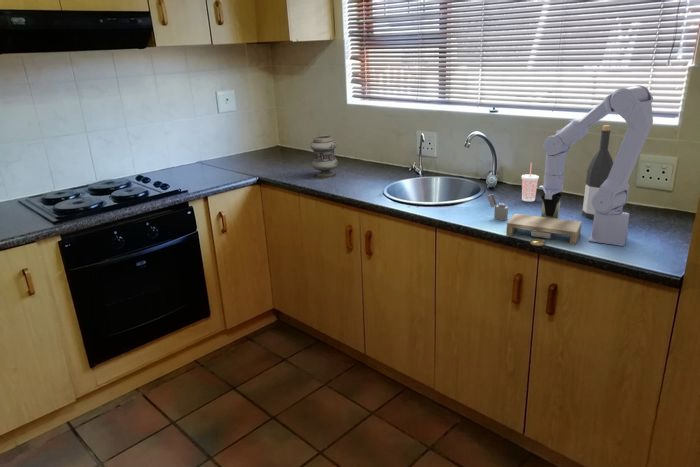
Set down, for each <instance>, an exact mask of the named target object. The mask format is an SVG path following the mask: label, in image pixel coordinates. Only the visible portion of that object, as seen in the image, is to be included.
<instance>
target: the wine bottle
mask: <svg viewBox="0 0 700 467" xmlns="http://www.w3.org/2000/svg"><path fill="white" fill-rule="evenodd" d="M600 132H601V133H600V140H599V141H600V142H599V149H598V151H597V152H596V153H595V155H594V156H593V158H592V159H591V161H590V163H589V165H588V166H587V170H586V179H585V188H584V195H583V196H584V197H583V204H582V211H581V212H582V216H584V217H585V218H589V219H593V220H594V213H595V209H594V207H593V206H592V197H593V195H594V194H595V193H596V192H598V190H599V188H600V186H601V185H602V184H603V183H604V182H605V180H606V179H607V178H608V176H609V173H610V171H611V168H612V166H613V163H614V161H613V158H612V156H611V153H610V151H609V143H610V135H611V125H609V124H603V126H602V129H601V131H600Z"/></svg>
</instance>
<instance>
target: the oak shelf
mask: <svg viewBox="0 0 700 467" xmlns="http://www.w3.org/2000/svg"><path fill="white" fill-rule="evenodd" d="M517 229H522V230H529V231H530V230H531V231H532V230H533V231H543V232H551V234H560V235H566V236H567V235H568V236H570V237H569V245H575V246H576V244H577V242H578V240H579V238H580V235H581V232H582V231H581V229H582V221H579V220H574V219H573V220H572V219H571V220H570V219H564V218H563V219H562V218H558V219H556V218H548V217H541V215H530V214H522V213H521V214H520V213H514V214H513V215H512V216H511V218H510V219H509V220H508V221H507V222H506V231H505V232H506V234H505V235H506V236H508V237H511V236H513V234H514V233H515V232H516V231H517Z"/></svg>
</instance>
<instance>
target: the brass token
mask: <svg viewBox="0 0 700 467" xmlns="http://www.w3.org/2000/svg"><path fill="white" fill-rule="evenodd" d="M530 244H531V245H532V246H538V247H542V246H544V245H545V244H546V241H545V240H544V239H542V238H532V239H530Z"/></svg>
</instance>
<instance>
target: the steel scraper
mask: <svg viewBox="0 0 700 467" xmlns="http://www.w3.org/2000/svg"><path fill="white" fill-rule="evenodd" d="M541 205H542V206H541V215H540V217H548V218H556V219H560V218H559V216H560V207H561V200H559V201H558V202H557V205H556V208H555V212H554V215H553V217H551V216H546V214H545V206H544V202H543V201H542V204H541ZM530 234H531V235H530V236H531V237H536V238H541V239H542V238H544V239H551V236H552V233H551V232H543V231H536V230H531V233H530Z"/></svg>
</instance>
